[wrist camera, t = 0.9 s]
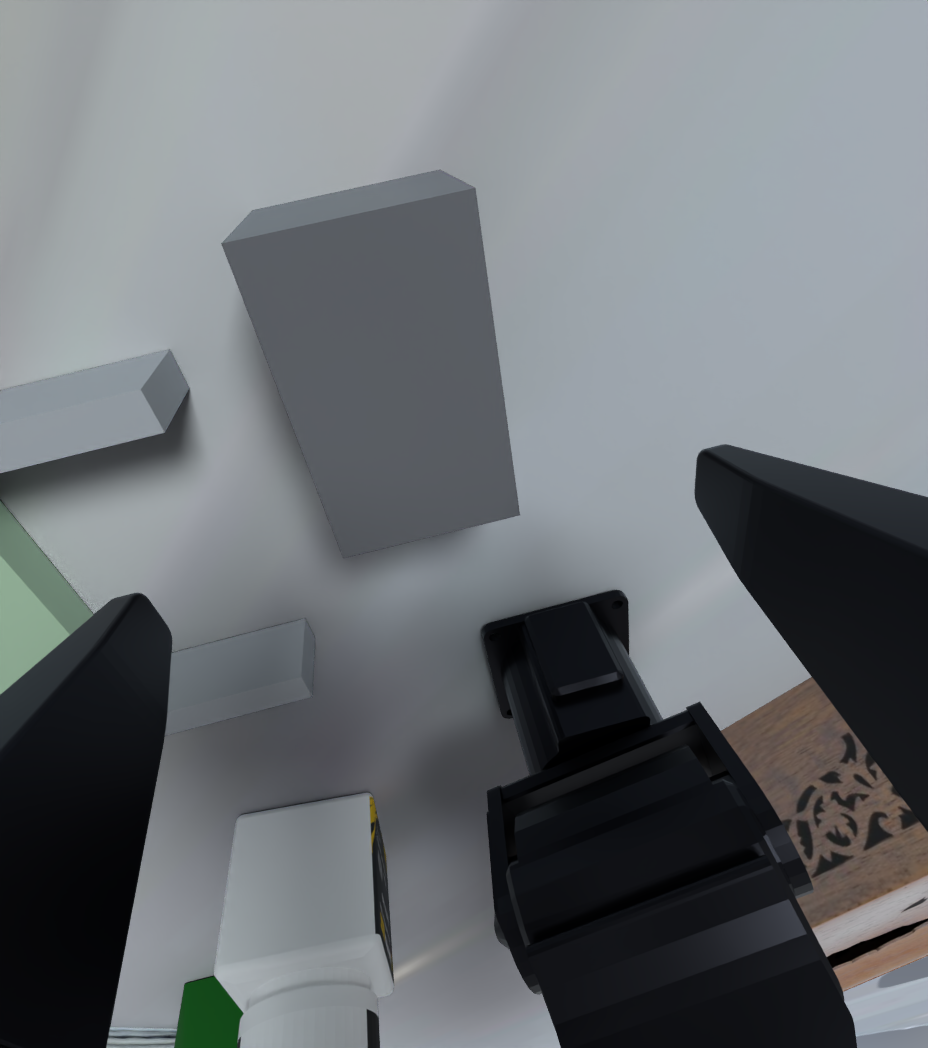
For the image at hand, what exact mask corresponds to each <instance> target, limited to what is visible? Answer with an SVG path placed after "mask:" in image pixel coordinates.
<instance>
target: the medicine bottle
mask: <svg viewBox="0 0 928 1048" xmlns="http://www.w3.org/2000/svg"><path fill="white" fill-rule="evenodd" d="M214 976H215V977H216V979H217V980H218V981H219V982H220V984H221V985H222V986H223V987H224V989H225V990H226V991H227V993H228V994H229V995H230V996H231V998H232V999H233V1000H234V1002H235V1003H236V1004H237V1005H238V1007H239V1008H240V1009H241V1010H242V1012H243V1013H244V1014H243V1015H242V1017H241V1019H240V1025H239V1034H238V1043H237V1048H380V1038H379V1015H378V998H382V997H386V996H389V995H390V994H391V993H392V992H393V989H394V977H393V961H392V945H391V928H390V912H389V896H388V880H387V864H386V854H385V849H384V844H383V840H382V835H381V831H380V826H379V821H378V817H377V812H376V808H375V803H374V799H373V796H372V795H371V794H370V793H361V794H355V795H350V796H344V797H338V798H333V799H327V800H322V801H316V802H311V803H305V804H299V805H294V806H288V807H283V808H277V809H271V810H266V811H260V812H255V813H249V814H243V815H241V816H239V817H238V818H237V820H236V823H235V830H234V837H233V844H232V850H231V857H230V864H229V871H228V877H227V884H226V891H225V898H224V904H223V911H222V918H221V925H220V931H219V938H218V945H217V952H216V958H215V965H214Z"/></svg>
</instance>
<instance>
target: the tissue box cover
mask: <svg viewBox="0 0 928 1048" xmlns="http://www.w3.org/2000/svg"><path fill="white" fill-rule="evenodd" d="M721 732H722V734H723V735H724V737H725V738H726V740H727V741H728V742H729V744H730V745H731V747H732V748H733V749H734V751H735V752H736V754H737V755H738V757H739V758H740V759H741V761H742V762H743V764H744V765H745V766H746V768H747V769H748V771H749V772H750V774H751V775H752V776H753V778H754V779H755V781H756V782H757V784H758V785H759V787H760V788H761V789H762V791H763V792H764V794H765V796H766V797H767V799H768V800H769V802H770V804H771V805H772V807H773V808H774V810H775V812H776V813H777V815H778V817H779V819H780V820H781V822H782V824H783V825H784V827H785V829H786V831H787V833H788V834H789V836H790V838H791V840H792V842H793V844H794V846H795V848H796V850H797V851H798V853H799V855H800V857H801V859H802V861H803V864H804V866H805V868H806V870H807V872H808V875H809V877H810V880H811V882H812V885H813V889H814V890H813V893H811V894H808V895H805V896H803V897H800V898H797V899H796V900H797V902H798V903H799V905H800V907H801V909H802V911H803V913H804V915H805V917H806V919H807V921H808V923H809V924H810V926H811V928H812V930H813V932H814V934H815V936H816V938H817V940H818V942H819V944H820V945H821V947H822V949H823V951H824V953H825V955H826V957H827V959H828V961H829V963H830V965H831V966H832V968H833V970H834V972H835V974H836V976H837V978H838V980H839V982H840V985H841V987H842V990H843V991H846V990H848V989H850V988H853V987H855V986H858V985H860V984H862V983H865V982H867V981H869V980H872V979H874V978H876V977H879V976H881V975H883V974H886V973H888V972H891V971H893V970H895V969H898V968H900V967H902V966H905V965H907V964H909V963H912V962H914V961H917V960H919V959H921V958H924V957H926V956H928V832H927V831H926V829H925V828H924V827H923V825H922V824H921V823H920V821H919V820H918V819H917V817H916V816H915V815H914V813H913V812H912V810H911V809H910V808H909V806H908V805H907V804H906V802H905V801H904V800H903V798H902V797H901V796H900V794H899V793H898V792H897V790H896V789H895V788H894V786H893V785H892V784H891V782H890V781H889V780H888V778H887V777H886V776H885V774H884V773H883V772H882V770H881V769H880V768H879V766H878V765H877V763H876V762H875V761H874V759H873V758H872V757H871V755H870V754H869V753H868V751H867V750H866V749H865V747H864V746H863V745H862V743H861V742H860V741H859V739H858V738H857V737H856V735H855V734H854V733H853V731H852V730H851V729H850V727H849V726H848V725H847V723H846V722H845V720H844V719H843V718H842V716H841V715H840V714H839V712H838V711H837V710H836V708H835V707H834V706H833V704H832V703H831V702H830V700H829V699H828V698H827V696H826V695H825V694H824V692H823V691H822V690H821V688H820V687H819V686H818V684H817V683H816V682H815V680H814V679H813V678H812V677H811V678H809V679H808V680H806V681H804V682H803V683H801V684H799V685H798V686H796V687H794V688H792V689H791V690H789V691H787V692H786V693H784V694H782V695H781V696H779V697H777V698H776V699H774V700H772V701H771V702H769V703H767V704H766V705H764V706H762V707H761V708H759V709H757V710H755V711H754V712H752V713H750V714H749V715H747V716H745V717H744V718H742V719H740V720H739V721H737V722H735V723H734V724H732V725H730V726H729V727H727V728H725V729H723V730H722V731H721Z"/></svg>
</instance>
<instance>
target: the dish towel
mask: <svg viewBox="0 0 928 1048" xmlns="http://www.w3.org/2000/svg"><path fill="white" fill-rule="evenodd" d="M176 1033H177V1029H172V1028H122V1027H110V1031H109V1036H108V1042H107V1047H106V1048H174V1045H175V1039H176Z"/></svg>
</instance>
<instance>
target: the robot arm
mask: <svg viewBox="0 0 928 1048" xmlns="http://www.w3.org/2000/svg"><path fill="white" fill-rule="evenodd" d="M695 500H696V504H697V506H698V508H699V510H700V512H701V514H702V515H703V517H704V519H705V520H706V522H707V524H708V526H709V527H710V529H711V531H712V533H713V534H714V536H715V538H716V540H717V541H718V543H719V545H720V547H721V548H722V550H723V552H724V554H725V555H726V557H727V559H728V561H729V562H730V564H731V566H732V568H733V569H734V571H735V572H736V574H737V576H738V577H739V579H740V580H741V582H742V583H743V585H744V586H745V587H746V589H747V590H748V592H749V593H750V594H751V596H752V597H753V598H754V600H755V601H756V602H757V604H758V605H759V606H760V608H761V609H762V610H763V612H764V613H765V614H766V616H767V617H768V618H769V620H770V621H771V622H772V624H773V625H774V626H775V628H776V629H777V631H778V632H779V633H780V635H781V636H782V637H783V639H784V640H785V641H786V643H787V644H788V645H789V647H790V648H791V649H792V651H793V652H794V653H795V655H796V656H797V657H798V659H799V660H800V661H801V663H802V664H803V665H804V667H805V668H806V669H807V671H808V672H809V673H810V675H811V676H812V678H813V679H814V680H815V682H816V683H817V684H818V686H819V687H820V688H821V690H822V691H823V692H824V694H825V695H826V696H827V698H828V699H829V700H830V702H831V703H832V704H833V706H834V707H835V708H836V710H837V711H838V712H839V714H840V715H841V716H842V718H843V719H844V720H845V722H846V723H847V725H848V726H849V727H850V729H851V730H852V731H853V733H854V734H855V735H856V737H857V738H858V739H859V741H860V742H861V743H862V745H863V746H864V747H865V749H866V750H867V751H868V753H869V754H870V755H871V757H872V758H873V759H874V761H875V762H876V763H877V765H878V766H879V768H880V769H881V770H882V772H883V773H884V774H885V776H886V777H887V778H888V780H889V781H890V782H891V784H892V785H893V786H894V788H895V789H896V790H897V792H898V793H899V794H900V796H901V797H902V798H903V800H904V801H905V802H906V804H907V805H908V806H909V808H910V809H911V810H912V812H913V813H914V815H915V816H916V817H917V819H918V820H919V821H920V823H921V824H922V825H923V827H924V828H925V829H926V831H927V832H928V497H925V496H921V495H918V494H914V493H910V492H906V491H902V490H898V489H895V488H891V487H887V486H883V485H879V484H876V483H872V482H868V481H864V480H860V479H857V478H853V477H849V476H845V475H841V474H838V473H834V472H830V471H826V470H822V469H819V468H815V467H811V466H807V465H803V464H799V463H796V462H792V461H788V460H784V459H780V458H777V457H773V456H769V455H765V454H761V453H758V452H754V451H750V450H746V449H742V448H739V447H735V446H731V445H727V444H724V445H719V446H715V447H711V448H707V449H703V450H702V451H701V452H700V453H699V454H698V457H697V464H696V478H695ZM615 601H616V602H615ZM493 633H496V634H493ZM491 634H492V635H491ZM482 636H483V640H484V645H485V649H486V653H487V657H488V661H489V665H490V669H491V673H492V678H493V682H494V686H495V690H496V694H497V698H498V702H499V707H500V710H501V714H502V716H503V717H504V718H508V719H510V718H513V719H514V722H515V726H516V729H517V732H518V736H519V739H520V743H521V746H522V750H523V753H524V757H525V760H526V764H527V767H528V771H529V774H530V776H528V777H525V778H523V779H521V780H518V781H516V782H513V783H511V784H509V785H506V786H504V787H501V786H497V787H495V788H493V789H490V790H488V791H487V798H488V810H489V812H487V824H488V837H489V849H490V861H491V874H492V886H493V899H494V910H495V920H494V927H495V932H496V936H497V938H498V940H499V942H500V943H501V944H503V945H504V946H505V947H507V948H508V949H510V951H511V954H512V956H513V959H514V961H515V964H516V966H517V968H518V970H519V972H520V974H521V976H522V978H523V980H524V981H525V983H526V984H527V986H528V988H529V989H530V990H531V991H532V992H533V993H534V994H541V993H542V994H543V997H544V1000H545V1003H546V1005H547V1008H548V1011H549V1014H550V1016H551V1019H552V1022H553V1025H554V1027H555V1030H556V1033H557V1036H558V1039H559V1043H560V1046H561V1048H857V1043H856V1035H855V1027H854V1022H853V1018H852V1016H851V1014H850V1012H849V1010H848V1008H847V1006H846V1004H845V1002H844V996H843V990H842V987H841V985H840V982H839V980H838V978H837V976H836V974H835V972H834V970H833V968H832V966H831V965H830V963H829V961H828V959H827V957H826V955H825V953H824V951H823V949H822V947H821V945H820V944H819V942H818V940H817V938H816V936H815V934H814V932H813V930H812V928H811V926H810V924H809V923H808V921H807V919H806V917H805V915H804V913H803V911H802V909H801V907H800V905H799V903H798V902H797V900H796V899H797V898H800V897H803V896H805V895H808V894H811V893H813V890H814V889H813V885H812V882H811V880H810V877H809V875H808V872H807V870H806V868H805V866H804V864H803V861H802V859H801V857H800V855H799V853H798V851H797V850H796V848H795V846H794V844H793V842H792V840H791V838H790V836H789V834H788V833H787V831H786V829H785V827H784V825H783V824H782V822H781V820H780V819H779V817H778V815H777V813H776V812H775V810H774V808H773V807H772V805H771V804H770V802H769V800H768V799H767V797H766V796H765V794H764V792H763V791H762V789H761V788H760V787H759V785H758V784H757V782H756V781H755V779H754V778H753V776H752V775H751V774H750V772H749V771H748V769H747V768H746V766H745V765H744V764H743V762H742V761H741V759H740V758H739V757H738V755H737V754H736V752H735V751H734V749H733V748H732V747H731V745H730V744H729V742H728V741H727V740H726V738H725V737H724V735H723V734H722V732H721V731H720V730H719V728H718V727H717V725H716V724H715V723H714V721H713V720H712V718H711V717H710V715H709V714H708V713H707V711H706V710H705V708H704V707H703V706H702V704H701V703H700V702H698V703H696V704H693V705H691V706H688V707H686V709H687V710H686V711H683V712H681V713H678V714H676V715H674V716H671V717H669V718H666V719H664V720H663V718H662V717H661V715H660V713H659V711H658V709H657V707H656V705H655V703H654V702H653V700H652V698H651V696H650V694H649V692H648V690H647V689H646V687H645V685H644V683H643V681H642V679H641V677H640V676H639V674H638V672H637V670H636V668H635V666H634V664H633V662H632V661H631V659H630V657H629V620H628V600H627V598H626V596H625V594H624V593H623V592H622V591H620V590H613V591H609V592H606V593H602V594H598V595H594V596H590V597H587V598H583V599H579V600H575V601H571V602H568V603H564V604H560V605H556V606H552V607H549V608H545V609H541V610H537V611H533V612H530V613H526V614H522V615H518V616H514V617H510V618H507V619H503V620H499V621H495V622H491V623H489V624H487V625H486V626H484V627H483V629H482ZM171 654H172V636H171V632H170V630H169V628H168V626H167V624H166V623H165V622H164V620H163V619H162V617H161V616H160V615H159V613H158V612H157V610H156V609H155V607H154V606H153V605H152V603H151V602H150V600H149V599H148V598H147V597H146V596H145V595H143V594H141V593H133V594H129V595H125V596H121V597H117V598H114V599H112V600H111V601H109V602H108V603H107V604H106V605H105V606H103V607H102V608H101V609H100V610H99V611H97V612H96V613H95V614H94V615H93V616H92V617H90V618H89V619H88V620H87V621H86V622H85V623H83V624H82V625H81V626H80V627H79V628H78V629H76V630H75V631H74V632H73V633H72V634H71V635H69V636H68V637H67V638H66V639H65V640H64V641H62V642H61V643H60V644H59V645H58V646H57V647H55V648H54V649H53V650H52V651H51V652H50V653H48V654H47V655H46V656H45V657H44V658H42V659H41V660H40V661H39V662H38V663H37V664H35V665H34V666H33V667H32V668H31V669H30V670H28V671H27V672H26V673H25V674H24V675H23V676H21V677H20V678H19V679H18V680H17V681H16V682H14V683H13V684H12V685H11V686H10V687H9V688H7V689H6V690H5V691H4V692H3V693H2V694H0V1048H106V1047H107V1042H108V1036H109V1031H110V1026H111V1020H112V1015H113V1010H114V1004H115V999H116V994H117V988H118V983H119V978H120V972H121V967H122V962H123V957H124V951H125V946H126V941H127V935H128V930H129V925H130V919H131V914H132V909H133V903H134V898H135V893H136V887H137V882H138V877H139V871H140V866H141V861H142V856H143V850H144V845H145V840H146V834H147V829H148V824H149V818H150V813H151V808H152V802H153V797H154V792H155V786H156V781H157V776H158V770H159V765H160V760H161V754H162V749H163V744H164V737H165V731H166V723H167V714H168V699H169V684H170V669H171Z"/></svg>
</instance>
